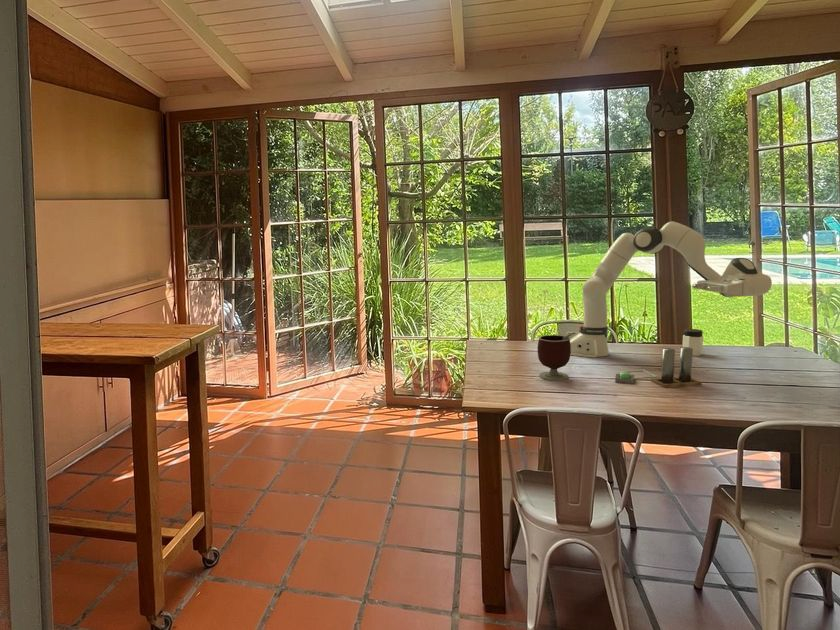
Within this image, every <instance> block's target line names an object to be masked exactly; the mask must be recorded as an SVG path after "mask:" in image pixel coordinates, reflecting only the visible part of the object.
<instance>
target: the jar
mask: <svg viewBox="0 0 840 630" xmlns="http://www.w3.org/2000/svg"><path fill="white" fill-rule="evenodd" d="M703 332H704V331H703V330H702V329H699V328H698V329H697V328H686V329H684V330H683V335H682V347H690V348H693V356H692V357H700V356H701V355H703V345H704V344H703V343H704V335H703V334H704V333H703Z"/></svg>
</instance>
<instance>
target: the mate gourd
mask: <svg viewBox="0 0 840 630" xmlns="http://www.w3.org/2000/svg"><path fill="white" fill-rule="evenodd" d="M573 335H576V331H574V332H570V333H568V334H566V335H561V334H560V335H559V334H557V335H556V334H548V335H547V334H546V335H541V336H539V337H538V342H537V357H538V360H539V362H540V364H541V365H542V366H544V367H546V368H549V369H550V370H549V371H543V372H540V373H539V374H538V377H539V378H540V379H543V380H546V381H557V382H558V381H565V380H568V379H569V374H568V373H565V372H562V371H558V369H560V368H563V367H566V366H567V364H568V363H569V361H570V358H571V355H570V354H571V344H570V339H571V338H570V337H571V336H573Z"/></svg>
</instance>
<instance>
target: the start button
mask: <svg viewBox="0 0 840 630" xmlns="http://www.w3.org/2000/svg"><path fill="white" fill-rule="evenodd" d="M619 374H620V378H630V375H631V372H620V371H619Z"/></svg>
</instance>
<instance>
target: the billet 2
mask: <svg viewBox="0 0 840 630" xmlns="http://www.w3.org/2000/svg"><path fill="white" fill-rule="evenodd" d="M679 353H680V354H679V368H678V377H679V381H680V382H682V383H685V382H691V378H692V369H693V357H694V356H693V348H690V347H680V352H679Z"/></svg>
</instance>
